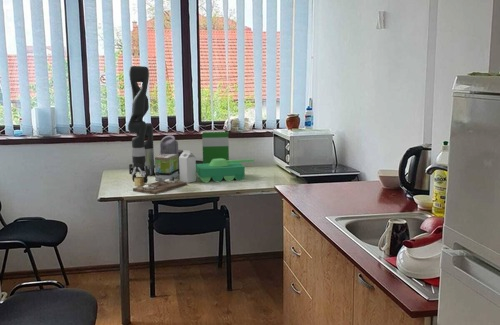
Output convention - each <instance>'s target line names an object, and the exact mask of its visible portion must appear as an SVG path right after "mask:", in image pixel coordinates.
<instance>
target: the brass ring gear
mask: <svg viewBox="0 0 500 325" xmlns="http://www.w3.org/2000/svg"><path fill="white" fill-rule="evenodd" d="M133 183H134V186H135V187H140V186H143V185H146V183H144V176H136V177H135V178H134V182H133Z"/></svg>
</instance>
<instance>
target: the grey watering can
mask: <svg viewBox="0 0 500 325" xmlns="http://www.w3.org/2000/svg"><path fill="white" fill-rule="evenodd" d="M183 150H184V149H179V142H178V141H177V139H176V137H175V136H174V135H171V134H169V135H168V134H167V135H166V136H164V137H163V138H162V139H161V140H160V144H159V153H158V156H159V155H162V154H178V175H180V172H179V156H180V155H181V154H182V152H183Z"/></svg>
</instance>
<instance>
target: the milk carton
mask: <svg viewBox="0 0 500 325" xmlns="http://www.w3.org/2000/svg"><path fill="white" fill-rule="evenodd" d="M182 150H183V152H182V154H181V155H180V156H179V172H180V174H179V181H182V182H187V184H189V183H193V182H197V172H196V164H197V161H196V160H197V158H196V155H194V154H193V153H192V151H191V150H186V149H182Z"/></svg>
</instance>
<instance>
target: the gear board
mask: <svg viewBox="0 0 500 325" xmlns="http://www.w3.org/2000/svg"><path fill="white" fill-rule="evenodd" d="M187 184H188V183H187V182H182V181H180V180H179V179H177V178H174V177H172V179H167V180H166V179H165V180H162V178H159V181H154V182H151V183H148V184H147V183H146V184H145V185H143V186H135V187H133V188H132V192H136V193H143V194H152V195H156V194H160V193H163V192H167V191H170V190H173V189H176V188H180V187H183V186H186V185H187Z"/></svg>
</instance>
